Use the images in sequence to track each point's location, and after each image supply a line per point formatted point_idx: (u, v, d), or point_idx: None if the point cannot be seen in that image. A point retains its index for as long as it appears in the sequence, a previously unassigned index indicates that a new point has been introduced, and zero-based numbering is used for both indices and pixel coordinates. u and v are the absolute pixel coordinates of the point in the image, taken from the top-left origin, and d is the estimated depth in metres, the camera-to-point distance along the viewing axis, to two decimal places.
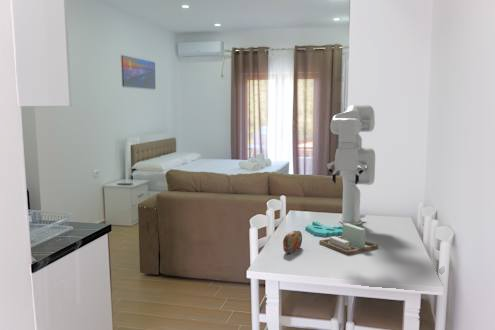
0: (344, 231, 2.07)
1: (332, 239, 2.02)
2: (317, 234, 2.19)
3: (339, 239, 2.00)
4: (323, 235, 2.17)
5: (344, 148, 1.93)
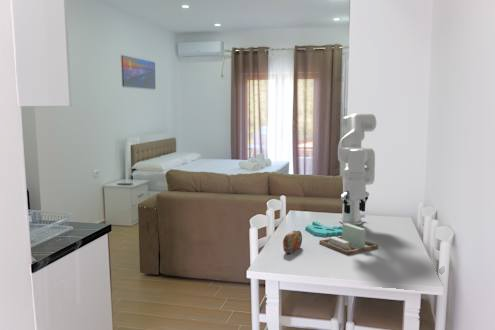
0: (344, 231, 2.07)
1: (332, 239, 2.02)
2: (317, 234, 2.19)
3: (339, 239, 2.00)
4: (323, 235, 2.17)
5: (359, 178, 1.97)
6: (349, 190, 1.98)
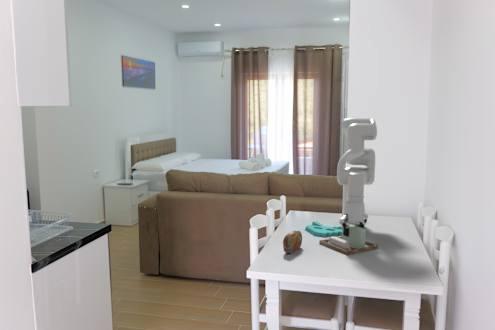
0: None
1: (332, 239, 2.02)
2: (317, 234, 2.19)
3: (339, 239, 2.00)
4: (323, 235, 2.17)
5: (358, 202, 1.98)
6: (348, 213, 1.99)
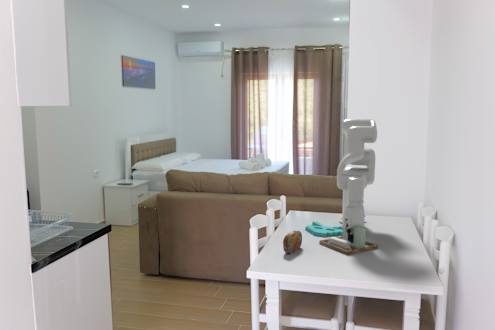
0: (344, 231, 2.07)
1: (332, 240, 2.01)
2: (317, 234, 2.19)
3: (339, 239, 2.00)
4: (323, 235, 2.17)
5: (358, 207, 1.99)
6: (348, 218, 2.00)
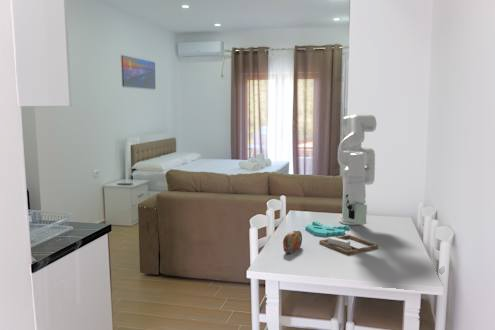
0: (344, 207, 2.06)
1: (331, 240, 2.01)
2: (317, 234, 2.19)
3: (339, 239, 2.00)
4: (323, 235, 2.17)
5: (359, 182, 1.97)
6: (349, 194, 1.98)
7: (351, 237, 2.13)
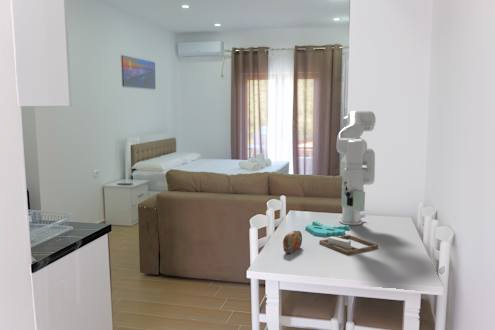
0: (343, 195, 2.07)
1: (332, 239, 2.01)
2: (317, 234, 2.19)
3: (339, 239, 2.00)
4: (323, 235, 2.17)
5: (357, 169, 1.98)
6: (347, 181, 1.99)
7: (351, 237, 2.13)
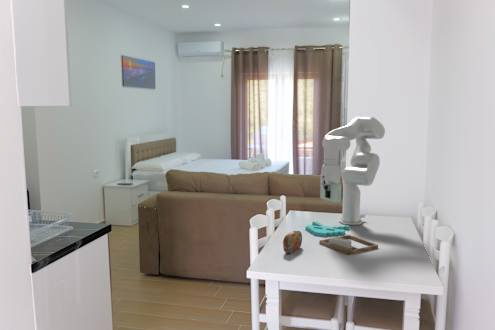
0: (321, 188, 2.25)
1: (332, 240, 2.01)
2: (317, 234, 2.19)
3: (340, 239, 2.00)
4: (323, 235, 2.17)
5: (334, 164, 2.16)
6: (325, 175, 2.17)
7: (351, 237, 2.13)
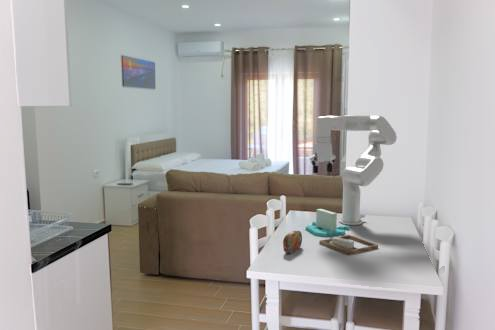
0: (317, 215, 2.30)
1: (335, 240, 2.01)
2: (317, 234, 2.19)
3: (343, 239, 1.99)
4: (323, 235, 2.18)
5: (326, 142, 2.24)
6: (317, 152, 2.24)
7: (351, 237, 2.13)
